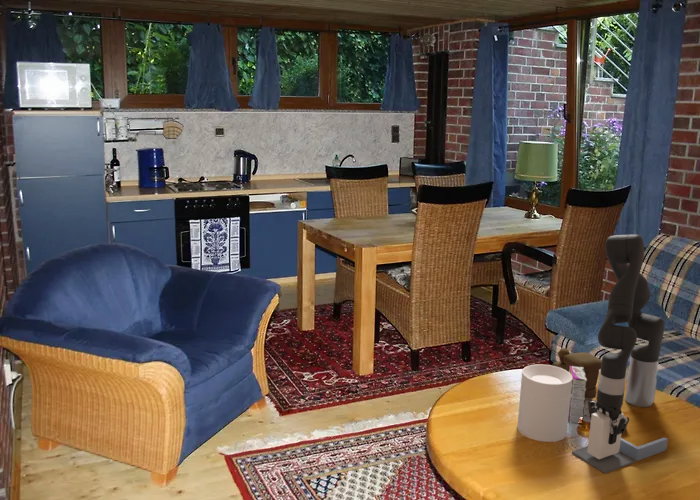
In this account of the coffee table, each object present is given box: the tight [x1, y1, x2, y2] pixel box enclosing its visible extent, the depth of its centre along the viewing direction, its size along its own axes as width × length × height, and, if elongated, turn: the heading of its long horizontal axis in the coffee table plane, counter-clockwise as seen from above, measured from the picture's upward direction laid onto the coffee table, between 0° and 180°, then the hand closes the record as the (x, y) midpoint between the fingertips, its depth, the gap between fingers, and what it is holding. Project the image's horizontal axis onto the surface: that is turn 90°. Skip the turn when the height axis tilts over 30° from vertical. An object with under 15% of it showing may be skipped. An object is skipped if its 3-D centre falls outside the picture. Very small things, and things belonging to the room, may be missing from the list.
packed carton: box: [587, 412, 625, 459], centre depth 211 cm, size 4×9×13 cm, turn 119°
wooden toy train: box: [552, 347, 602, 401], centre depth 254 cm, size 20×11×17 cm, turn 22°
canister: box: [517, 363, 572, 443], centre depth 227 cm, size 16×16×20 cm
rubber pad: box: [571, 445, 636, 474], centre depth 213 cm, size 13×13×1 cm
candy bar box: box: [568, 366, 587, 424], centre depth 237 cm, size 11×5×16 cm, turn 168°
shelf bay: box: [619, 425, 669, 462], centre depth 221 cm, size 14×16×4 cm
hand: (604, 439), depth 211 cm, fingers closed on packed carton, 4 cm apart
